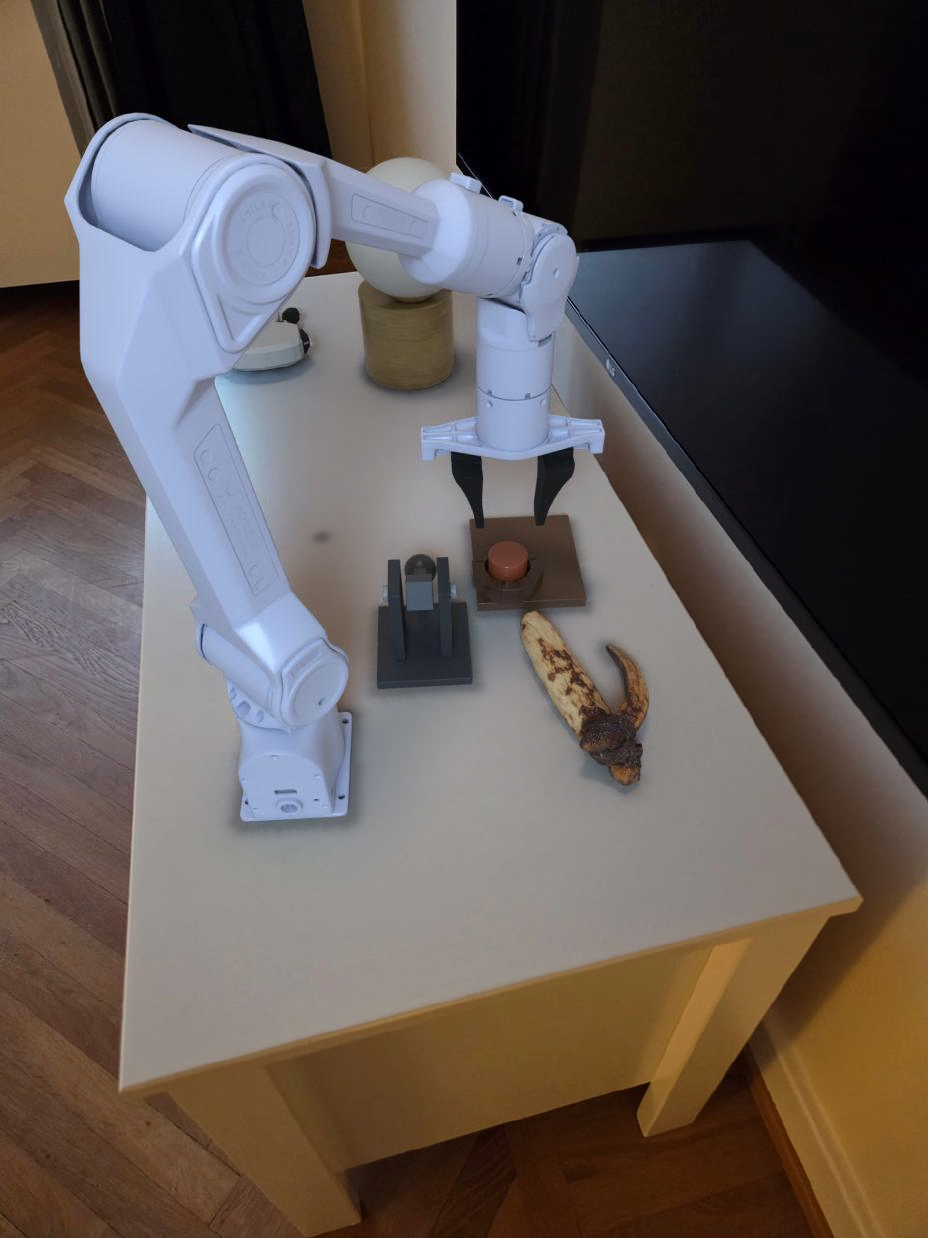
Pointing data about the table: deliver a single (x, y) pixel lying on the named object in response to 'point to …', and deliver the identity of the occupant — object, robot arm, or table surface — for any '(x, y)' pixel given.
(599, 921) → the table surface
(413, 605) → the switch lever
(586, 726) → the lashed bone hook
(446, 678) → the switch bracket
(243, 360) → the robot toy
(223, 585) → the robot arm
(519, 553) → the warm button
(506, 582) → the control block
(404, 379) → the lamp
